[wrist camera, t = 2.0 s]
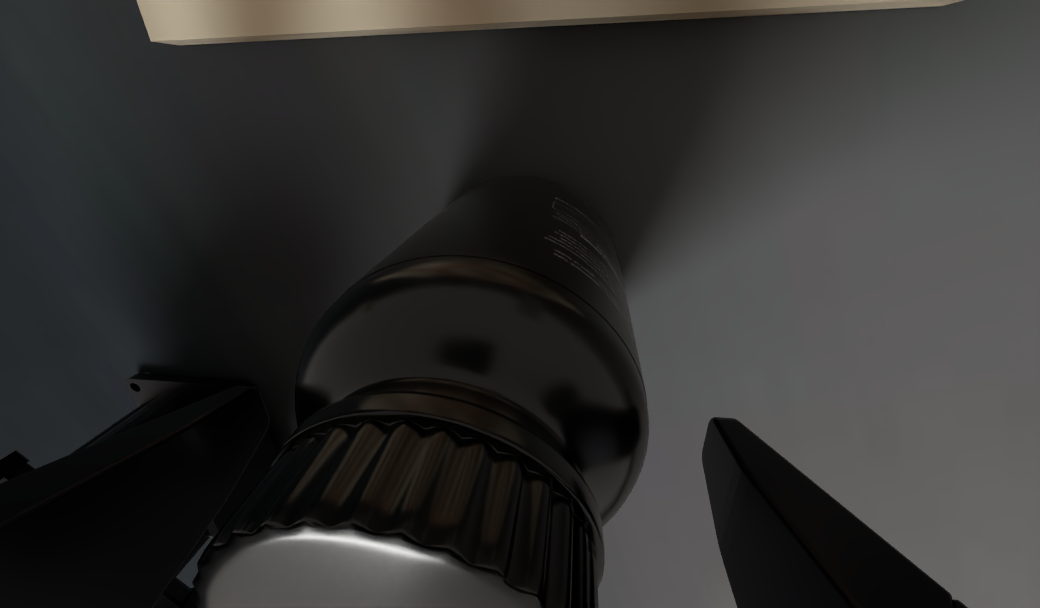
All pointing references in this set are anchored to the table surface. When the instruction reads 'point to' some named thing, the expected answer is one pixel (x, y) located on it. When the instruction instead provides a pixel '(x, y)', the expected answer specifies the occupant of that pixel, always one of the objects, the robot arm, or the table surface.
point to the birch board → (443, 15)
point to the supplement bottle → (453, 424)
